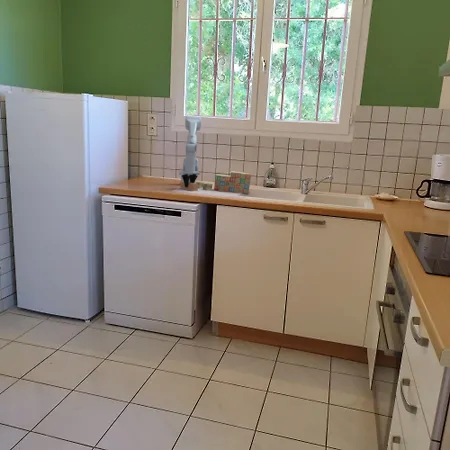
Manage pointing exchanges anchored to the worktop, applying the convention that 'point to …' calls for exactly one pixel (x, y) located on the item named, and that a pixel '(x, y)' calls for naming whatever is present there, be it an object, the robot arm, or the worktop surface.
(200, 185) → the pillar
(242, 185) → the stack of blocks
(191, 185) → the beam
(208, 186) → the pillar
